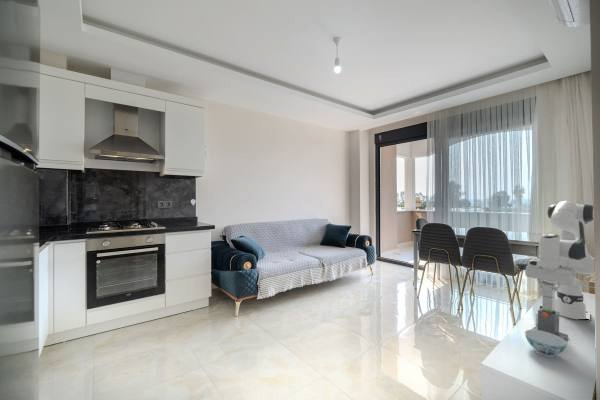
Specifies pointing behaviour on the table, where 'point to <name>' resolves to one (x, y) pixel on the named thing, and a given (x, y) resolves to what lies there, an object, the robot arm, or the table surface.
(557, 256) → the robot arm
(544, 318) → the stand base
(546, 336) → the chinaware
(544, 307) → the column
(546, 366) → the table surface
